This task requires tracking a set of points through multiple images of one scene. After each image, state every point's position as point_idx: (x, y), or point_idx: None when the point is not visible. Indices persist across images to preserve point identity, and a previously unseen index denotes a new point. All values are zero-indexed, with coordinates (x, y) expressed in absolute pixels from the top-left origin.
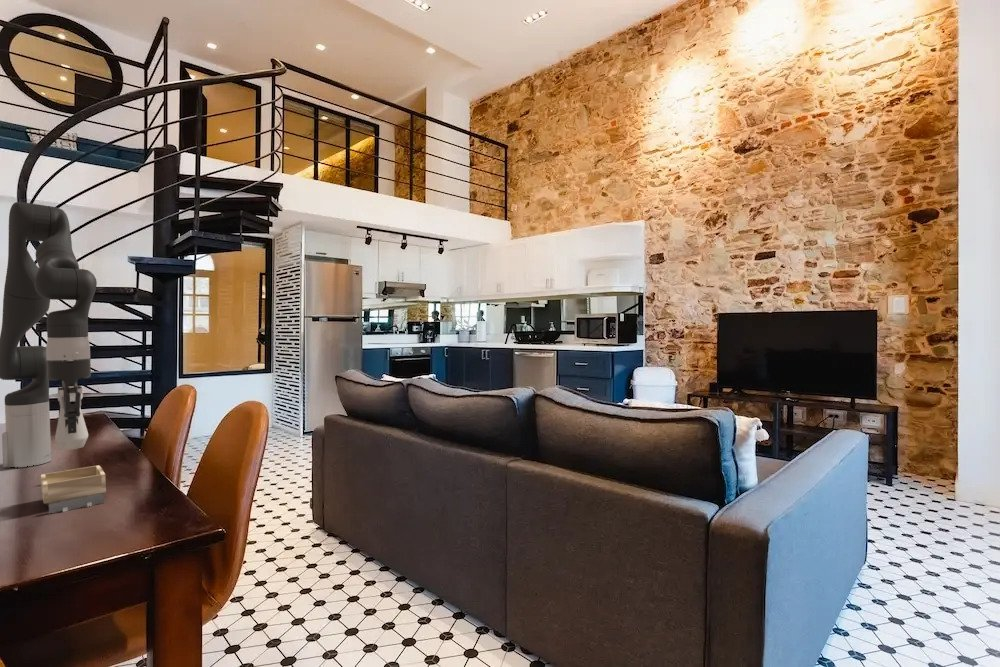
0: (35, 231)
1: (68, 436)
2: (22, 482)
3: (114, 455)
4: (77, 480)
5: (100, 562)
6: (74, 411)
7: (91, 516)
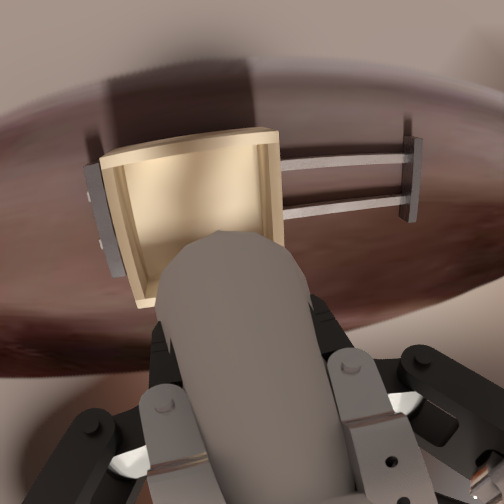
0: None
1: (158, 312)
2: (453, 100)
3: (501, 254)
4: (119, 243)
5: None
6: (113, 475)
7: (30, 250)
